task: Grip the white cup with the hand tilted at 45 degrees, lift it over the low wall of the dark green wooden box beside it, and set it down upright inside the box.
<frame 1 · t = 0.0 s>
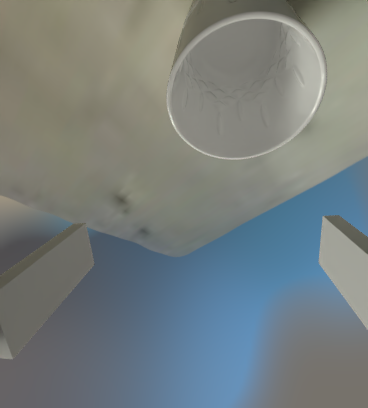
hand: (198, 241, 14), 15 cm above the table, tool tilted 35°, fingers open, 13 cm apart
white cup: (230, 27, 19), on the table
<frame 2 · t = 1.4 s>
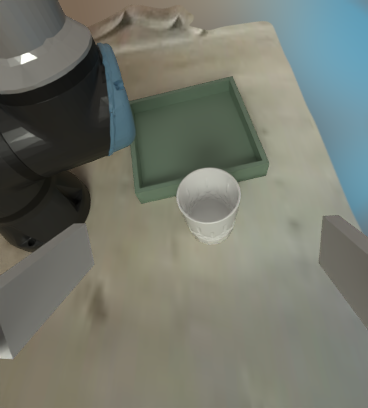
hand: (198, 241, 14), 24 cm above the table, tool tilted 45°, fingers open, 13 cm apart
green box: (191, 142, 48), on the table
white cup: (211, 225, 40), on the table
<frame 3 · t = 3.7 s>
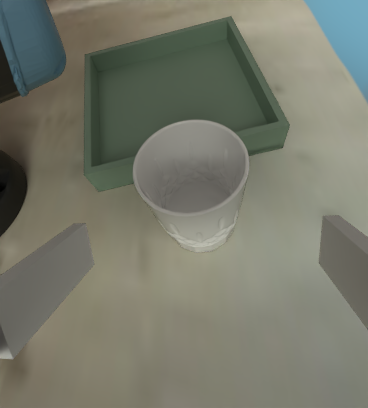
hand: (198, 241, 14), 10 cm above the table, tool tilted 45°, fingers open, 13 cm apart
green box: (173, 106, 34), on the table
white cup: (201, 221, 26), on the table
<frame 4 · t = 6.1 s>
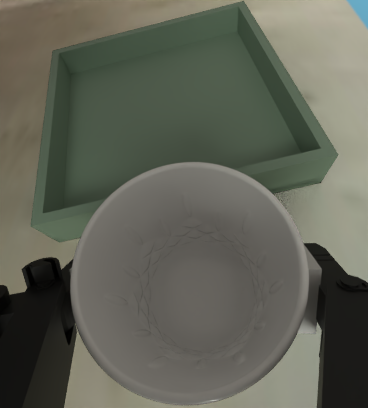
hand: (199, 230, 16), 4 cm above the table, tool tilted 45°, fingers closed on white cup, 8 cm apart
green box: (167, 119, 25), on the table
white cup: (204, 297, 17), on the table, touching gripper
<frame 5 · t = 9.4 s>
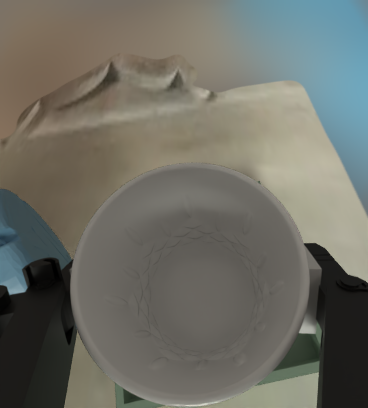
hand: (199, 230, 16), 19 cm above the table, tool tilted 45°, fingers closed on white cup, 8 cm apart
green box: (202, 284, 32), on the table
white cup: (204, 298, 17), point 15 cm above the table, touching gripper
when the fingers open (7 cm above the table, at t = 13.1 s): white cup drops 2 cm, resting on green box.
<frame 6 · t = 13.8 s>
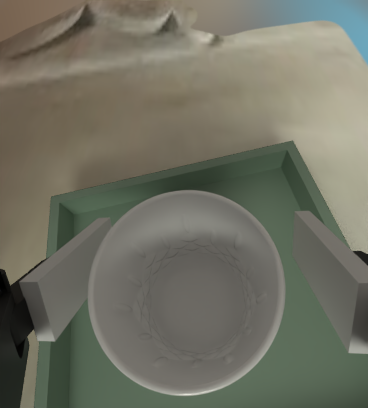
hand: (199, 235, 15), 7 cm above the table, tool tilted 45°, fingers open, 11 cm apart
green box: (200, 303, 20), on the table
white cup: (199, 303, 19), point 1 cm above the table, touching green box
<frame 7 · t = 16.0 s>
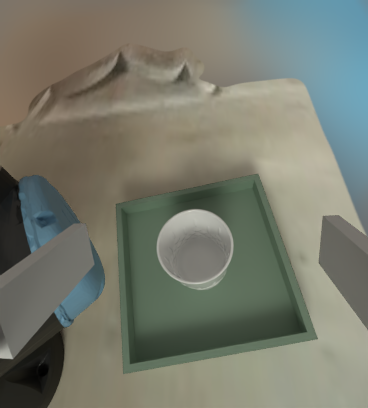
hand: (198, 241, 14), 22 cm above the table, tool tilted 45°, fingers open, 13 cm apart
green box: (201, 266, 35), on the table
white cup: (201, 265, 35), point 1 cm above the table, touching green box
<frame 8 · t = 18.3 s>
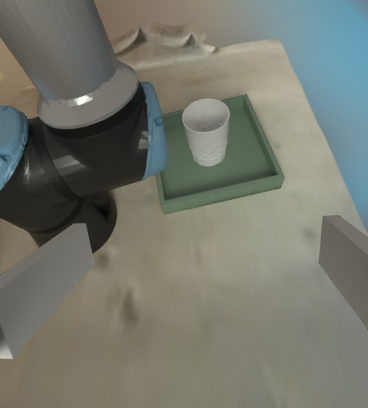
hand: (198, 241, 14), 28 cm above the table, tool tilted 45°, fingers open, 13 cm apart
green box: (208, 156, 51), on the table
white cup: (208, 153, 50), point 1 cm above the table, touching green box
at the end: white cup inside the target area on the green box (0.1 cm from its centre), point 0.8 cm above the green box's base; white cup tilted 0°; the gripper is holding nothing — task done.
